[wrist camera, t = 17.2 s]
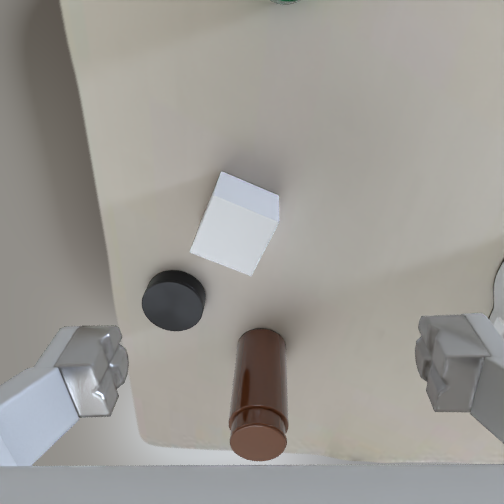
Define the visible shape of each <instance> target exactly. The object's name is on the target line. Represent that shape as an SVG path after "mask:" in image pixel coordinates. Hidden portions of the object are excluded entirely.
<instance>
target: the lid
mask: <svg viewBox="0 0 504 504" xmlns="http://www.w3.org/2000/svg"><path fill="white" fill-rule="evenodd" d="M205 300H206V295H205V291H204V288H203V286H202V285H201V283H200V282H199V281H198V280H197V279H196V278H194V277H193V276H191V275H190V274H187V273H185V272H181V271H174V270H173V271H165V272H162V273H159V274H158V275H156V276H155V277H153V279H152V280H151V281H150V283H149V285H148V287H147V289H146V291H145V293H144V296H143V298H142V308H143V311H144V313H145V315H146V317H147V318H148V319H149V320H150V321H151V322H152V323H153V324H155V325H156V326H158V327H160V328H162V329H165V330H170V331H183V330H187V329H189V328H191V327H193V326H194V325H196V324H197V323H198V322H199V320H200V319H201V316H202V313H203V309H204V305H205Z"/></svg>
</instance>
